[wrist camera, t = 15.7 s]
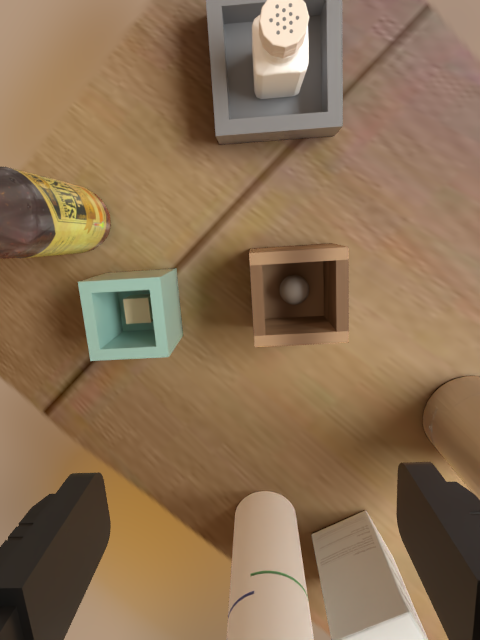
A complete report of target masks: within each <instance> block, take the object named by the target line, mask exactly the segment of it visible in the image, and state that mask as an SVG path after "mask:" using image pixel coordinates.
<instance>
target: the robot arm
mask: <svg viewBox="0 0 480 640" xmlns="http://www.w3.org/2000/svg"><path fill="white" fill-rule="evenodd" d="M423 427H424V430H425V433H426V435H427V437H428V438H429V440H430V442H431V443H432V444H433V445H434V446H435V448H436V449H437V450H438V451H439V453H440V454H441V455H442V456H443V457H444V459H445V460H446V461H447V463H448V464H449V465H450V466H451V467H452V469H453V470H454V471H455V472H456V473H457V475H458V476H459V477H460V478H461V480H462V481H463V482H464V483H465V484H466V486H467V487H468V488H469V489H470V490H471V492H470V491H469V490H467V489H466V488H464V487H463V486H462V485H460V484H459V483H457V482H446V481H445V479H444V478H443V477H442V475H441V474H440V473H439V471H438V470H437V469H436V467H435V466H434V465H433V464H432V463H431V462H413V463H400V464H399V467H398V485H397V523H398V528H399V532H400V536H401V538H402V541H403V543H404V545H405V547H406V549H407V552H408V554H409V556H410V558H411V560H412V562H413V564H414V566H415V569H416V571H417V573H418V575H419V577H420V579H421V581H422V583H423V586H424V588H425V590H426V592H427V594H428V596H429V598H430V600H431V603H432V605H433V607H434V609H435V611H436V613H437V615H438V617H439V620H440V622H441V624H442V626H443V628H444V630H445V632H446V634H447V637H448V639H449V640H480V377H478V376H465V377H461V378H456V379H454V380H452V381H449V382H447V383H445V384H444V385H443V386H441V387H440V388H438V389H437V390H436V391H435V392H434V393H433V394H432V396H431V397H430V399H429V400H428V402H427V404H426V407H425V409H424V414H423ZM109 536H110V516H109V510H108V504H107V498H106V492H105V485H104V480H103V476H102V475H101V473H75V474H71V475H70V476H69V477H68V478H67V479H66V480H65V482H64V483H63V484H62V486H61V487H60V489H59V490H58V491H57V493H56V494H49V495H48V496H46V497H45V498H44V499H42V500H41V501H40V502H38V503H37V504H36V505H34V506H33V507H32V508H31V509H30V510H29V511H28V513H27V514H26V515H25V517H24V518H23V519H22V520H21V522H20V523H19V526H18V527H16V528H15V529H14V530H13V532H12V533H11V534H10V535H9V537H8V540H6V541H5V542H4V543H3V544H2V545H1V547H0V640H64V638H65V635H66V633H67V631H68V629H69V627H70V625H71V622H72V620H73V618H74V616H75V614H76V612H77V609H78V607H79V605H80V603H81V601H82V599H83V597H84V594H85V592H86V590H87V588H88V586H89V584H90V582H91V579H92V577H93V575H94V573H95V571H96V568H97V566H98V564H99V562H100V560H101V557H102V555H103V553H104V551H105V549H106V547H107V544H108V540H109Z"/></svg>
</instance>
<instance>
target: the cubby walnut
mask: <svg viewBox="0 0 480 640" xmlns="http://www.w3.org/2000/svg"><path fill="white" fill-rule="evenodd" d="M249 260H250V277H251V295H252V312H253V329H254V347H269V346H289V345H309V344H329V343H349V247H346V246H342V245H337V244H332V243H330V244H315V245H299V246H283V247H267V248H251V249H250V251H249Z"/></svg>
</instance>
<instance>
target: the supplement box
mask: <svg viewBox="0 0 480 640" xmlns="http://www.w3.org/2000/svg"><path fill="white" fill-rule="evenodd" d="M312 541H313V546H314V551H315V556H316V562H317V567H318V572H319V577H320V582H321V588H322V593H323V598H324V603H325V609H326V614H327V619H328V624H329V629H330V635H331V640H428V638H427V636H426V633H425V631H424V629H423V626H422V624H421V622H420V620H419V617H418V615H417V613H416V610H415V608H414V606H413V603H412V601H411V599H410V596H409V594H408V591H407V589H406V587H405V584H404V582H403V579H402V577H401V575H400V572H399V570H398V567H397V565H396V563H395V560H394V558H393V556H392V554H391V553H390V551H389V549H388V548H387V546H386V544H385V542H384V541H383V539H382V537H381V535H380V534H379V532H378V530H377V528H376V527H375V525H374V523H373V521H372V520H371V518H370V516H369V514H368V513H367V511H366V510H365V511H363V512H360V513H358V514H356V515H354V516H352V517H349V518H347V519H345V520H343V521H340V522H338V523H336V524H334V525H331V526H329V527H327V528H325V529H322V530H320V531H318V532H316V533H313V534H312Z"/></svg>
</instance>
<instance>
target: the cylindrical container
mask: <svg viewBox="0 0 480 640" xmlns="http://www.w3.org/2000/svg"><path fill="white" fill-rule="evenodd" d="M227 640H314V637H313V630H312V623H311V616H310V609H309V603H308V595H307V588H306V581H305V574H304V568H303V561H302V554H301V547H300V540H299V533H298V526H297V519H296V512H295V509H294V507H293V505H292V504H291V502H290V501H289V500H288V499H287V498H285V497H284V496H282V495H280V494H278V493H275V492H271V491H259V492H255V493H252V494H250V495H248V496H246V497H245V498H244V499H243V500H242V501H241V502H240V503H239V505H238V506H237V509H236V512H235V523H234V537H233V551H232V566H231V581H230V596H229V612H228V626H227Z"/></svg>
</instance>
